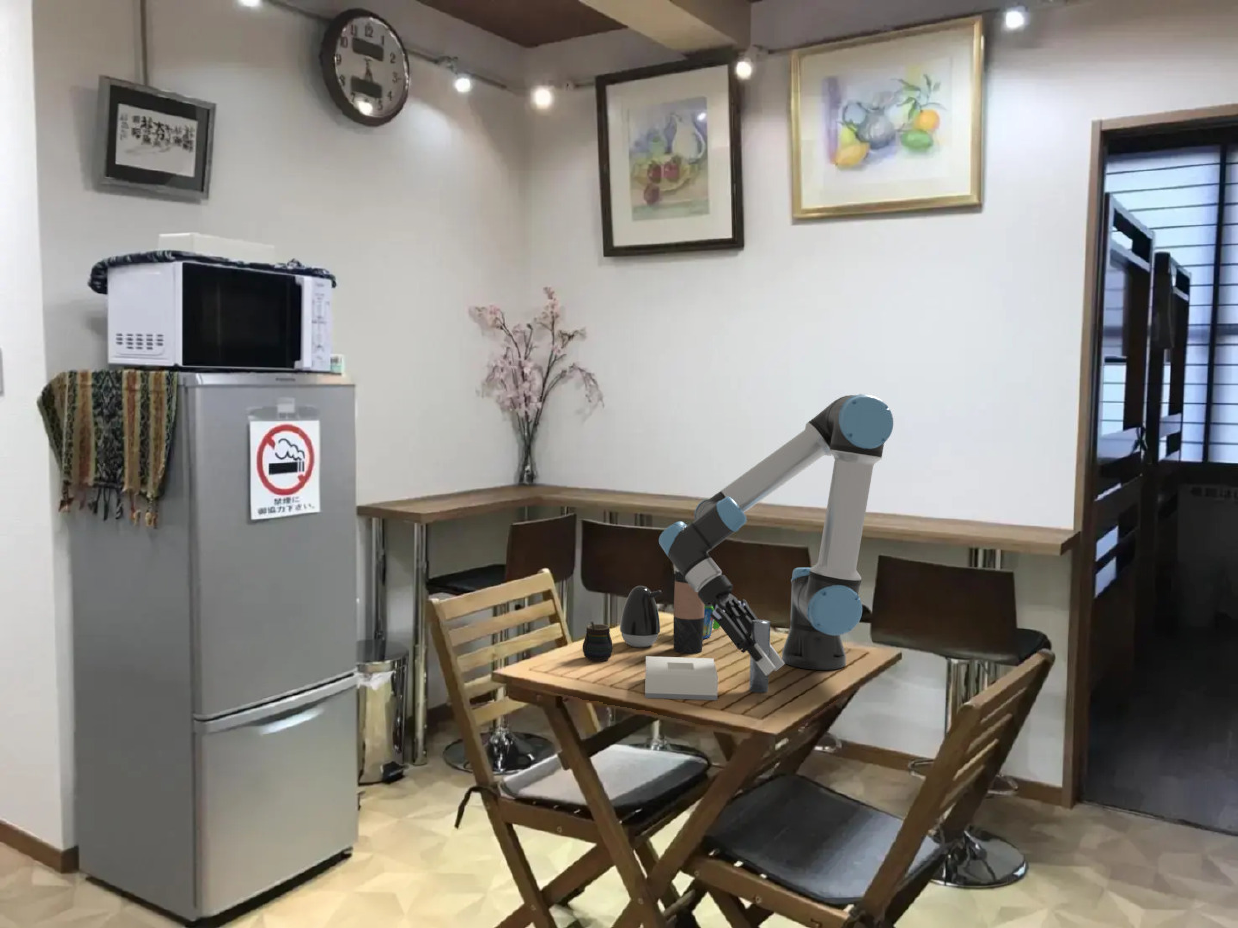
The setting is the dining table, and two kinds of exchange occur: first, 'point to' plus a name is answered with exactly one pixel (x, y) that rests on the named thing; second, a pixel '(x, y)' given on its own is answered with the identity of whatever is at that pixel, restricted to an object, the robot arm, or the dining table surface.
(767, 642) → the pin
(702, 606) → the travel mug
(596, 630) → the mate gourd
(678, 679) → the hole block
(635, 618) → the pump dispenser
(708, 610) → the snack cup
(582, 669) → the dining table surface
